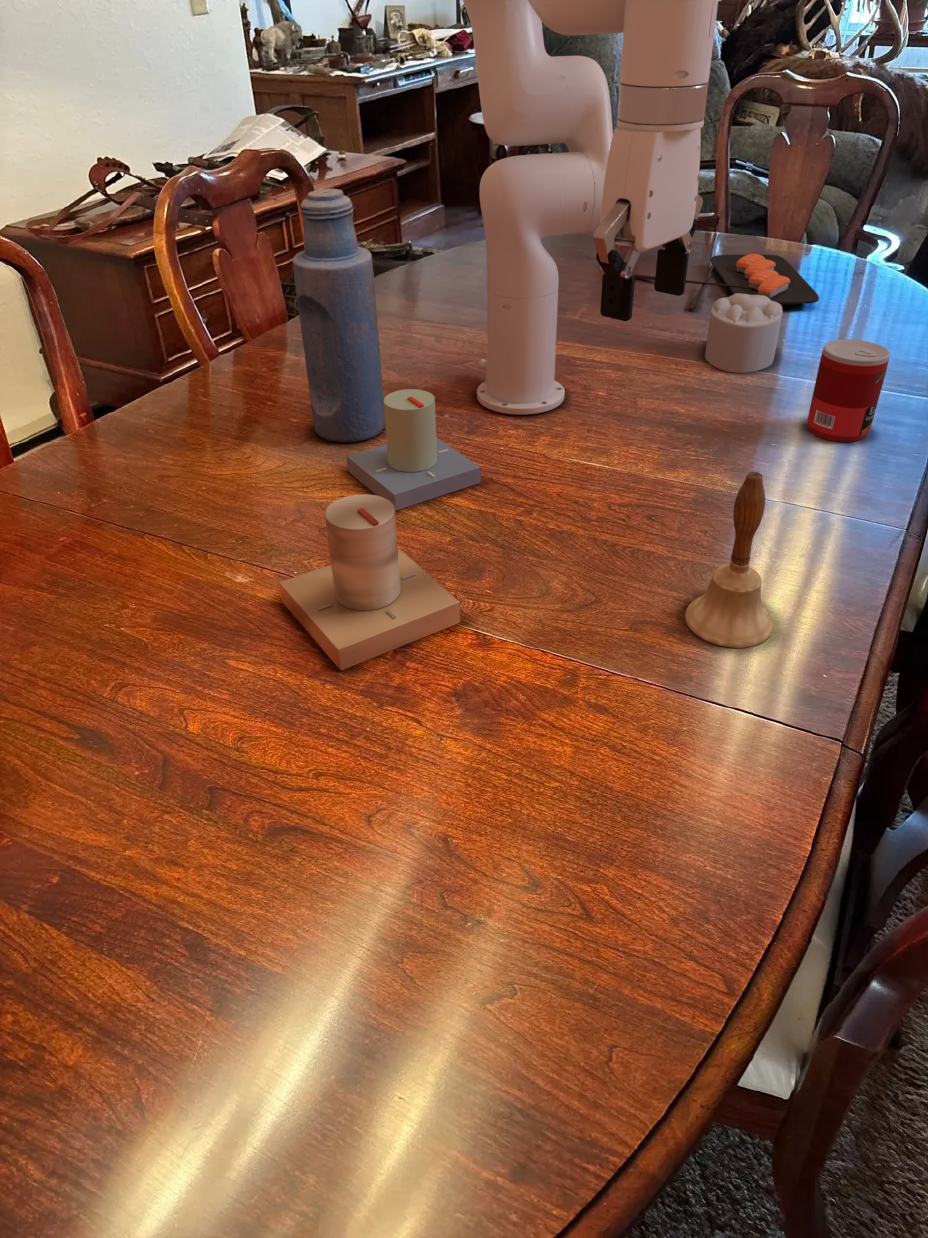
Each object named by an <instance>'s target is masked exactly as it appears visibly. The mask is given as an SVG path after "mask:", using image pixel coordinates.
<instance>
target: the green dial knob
mask: <svg viewBox="0 0 928 1238" xmlns="http://www.w3.org/2000/svg"><path fill="white" fill-rule="evenodd" d="M435 399H436V398H435V396H434V394H433V393H431V392H429V391H427V390H423V389H416V388H412V389H411V388H407V389H405V388H404V389H398V390H395V391H392V392H390V393H388V394H387V395H385V397H384V414H385V427H384V429H385V439H386V444H387V455H388V464H389V465H390V466H391V467H392V468H393V469H395V470H398V471H403V472H419V471H423V470H427V469H429V468H431V467H433V466H434V465H435V464H436V462H437V444H436V437H437V423H436V422H437V421H436V420H437V419H436V400H435Z"/></svg>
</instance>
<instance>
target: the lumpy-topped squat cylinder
mask: <svg viewBox="0 0 928 1238" xmlns="http://www.w3.org/2000/svg"><path fill="white" fill-rule="evenodd" d="M782 318H783V307H782V306H781V304H779V303H777V302H774V301H771V300H770V299H769V298H768V297H766V296H763V295H748V294H740V293H737V294H732V295H730V296H727V297H720V298H718V299H717V300H716V301H715V302H714V304H713V305H712V308H711V310H710V318H709V323H708V331H707V338H706V344H705V345H706V346H705V351H704V352H705V353H704V359H705V360H706V362H708V363H709V364H710V365H711V366H713V367H714V368H717V369H719V370H722V371H725V372H729V373H736V374H737V373H738V374H742V373H746V374H747V373H753V372H758V371H761V370H763V369H766V368H768V367H770V366H771V365H772V364H773V363H774V360H775V356H776V350H777V345H778V341H779V334H780V329H781V323H782Z"/></svg>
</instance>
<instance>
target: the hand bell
mask: <svg viewBox="0 0 928 1238" xmlns="http://www.w3.org/2000/svg"><path fill="white" fill-rule="evenodd" d="M763 481H764V480H763V474H762V473H760V472H758V471H749V472H748V473H747V474H746V477H745V479H744V481H743V483H742V485H741V486H740V487H739V490H738V491H737V494H736V496H735V500H734V504H733V513H732V514H733V515H732V517H733V526H734V534H735V535H734V536H735V537H734V543H733V547H732V551H731V555H730V563H725V564H722V565H719V566H718V567H717V568H716V569H714V571H713V573H712V576H711V579H710V581H709V585H708V586H707V588H706V591H704V593H703V595H700V596H699V597H696V598H695V599H693V601H691V603H689V605H688V606H687V607H686V610H685V612H684V620H685V623H686V625H687V627H688V628H689V630H690V631H691V632H692V633H693V634H694V635H696V636H697V637H699V638H700V639H701V640H704V641H706V642H707V643H710V644H713V645H715V646H720V647H724V648H734V649H741V648H750V647H754V646H756V645H757V646H758V645H759V644H762V643H763V642H765V641H766V640H767V639H769V638H770V637H771V636H772V633H773V631H774V622H773V618H772V616H771V614H770V612H769V611H768V610H767V608H766V607H765V606H764V605H763V602H762V577H761V575H760V574H759V572H758V571H757V570H756V569H754V568H752V567H751V566H750V563H751V562H750V561H751V553H752V545H753V540H754V536H755V534H756V532H757V531H758V528H759V527H760V525H761V523H762V519H763V517H764V513H765V509H766V493H765V487H764V482H763Z"/></svg>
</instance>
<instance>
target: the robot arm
mask: <svg viewBox="0 0 928 1238" xmlns="http://www.w3.org/2000/svg"><path fill="white" fill-rule="evenodd" d="M462 2H463V5H464V8H465V10H466V13H467V16H468V19H469V23H470V27H471V32H472V38H473V50H474V57H475V67H476V73H477V74H476V75H477V83H478V92H479V100H480V108H481V109H480V110H481V116H482V121H483V126H484V129H485V132H486V135H487V137H488V139H490V140H491V141H492V142H493V143H495V144H496V145H500V146H506V147H522V146H538V145H551V144H552V145H553V144H565V145H566V147H567V150H568V152H553V153H550V152H546V153H545V152H544V153H533V154H523V155H522V154H520V155H513V156H507V157H505V158H501V159H499V160H498V159H497V160H496V161H494V162H493V163H491V164H490V165H489V166H488V167H487V168H486V169H485V170H484V172H483V174H482V176H481V178H480V183H479V203H480V210H481V211H480V212H481V217H482V224H483V229H484V230H483V231H484V239H485V247H486V248H485V251H486V289H487V299H486V300H487V302H486V303H487V307H486V308H487V355H486V359H485V358H482V359H480V360H479V361H478V364H477V365H478V368H479V369H481V370H483V371H485V381H482V383H481V384H479V385H478V387H477V388H476V399H477V401H478V403H479V404H480V405H482V407H484V408H486V409H487V410H490V411H493V412H496V413H501V414H506V415H517V416H524V415H536V414H537V415H538V414H542V413H545V412H550V411H552V410H554V409H556V408H558V407H559V406H560V405H562V403H563V402H564V400H565V397H566V396H565V394H566V391H565V387H564V385H562V384H561V383H560V382H559V381H557V380H556V379H555V376H556V355H557V354H556V353H557V351H556V350H557V328H558V304H559V278H560V277H559V271H558V267H557V264H556V262H555V260H554V259H553V257H552V255H551V254H550V253H549V252H548V251H547V249H546V248H545V247H544V245H543V244H542V239H544V238H548V237H552V236H562V235H573V234H581V233H589V232H593V236H592V238H593V242H594V247H595V251H596V254H595V257H596V262H597V264H598V265H599V273H600V274H601V275H602V278H601V279H602V280H601V294H600V295H601V296H600V308H599V309H600V311H599V312H600V315H601V316H602V317H604V318H610V319H613V320H618V321H622V322H628V321H630V320H631V319H632V318H633V308H634V296H635V284H636V278H635V277H633V275H632V273H633V271H634V268H635V267H636V263H637V261H638V259H639V257H640V255H641V253H644V252H647V251H651V250H653V249H656V248H658V247H660V246H661V247H662V248H659V249H657V255H656V266H655V275H654V276H655V280H654V286H653V289H654V291H656V292H658V293H663V294H668V295H673V296H676V297H677V296H678V297H680V296H683V295H684V294H685V292H686V284H687V283H686V280H687V275H688V267H689V259H690V258H689V257H690V253H691V251H692V249H693V245H694V242H693V237H694V235H695V233H696V231H697V229H698V225H699V224H698V218H699V216H700V213H701V210H702V207H703V204H704V198H703V197H702V196H701V195H700V194H699V193H698V192H699V181H700V166H701V143H702V142H701V140H702V139H701V138H702V137H701V136H702V134H701V129H702V128H703V127H704V126H705V125H704V123H705V115H706V107H707V97H708V88H709V81H710V73H711V65H712V57H713V48H714V39H715V33H716V32H715V31H716V23H717V15H718V7H719V0H462ZM543 24H544V26H546V27H547V28H548V29H550V30H551V31H553V32H555V33H557V34H560V35H564V36H587V35H606V34H608V35H609V34H622V43H621V44H622V45H621V61H620V75H619V89H618V103H617V119H616V126H617V127H615V128H614V130H613V117H612V116H613V115H612V105H611V104H612V103H611V96H610V89H609V84H608V81H607V77H606V75H605V73H604V70H603V69H602V67H601V65H600V64H599V63H598V62H597V61H596V60H595V59H593V58H590V57H588V56H584V55H558V56H557V55H556V56H551V55H549V54H548V53H547V51H546V47H545V41H544V32H543ZM620 252H624V253H627V254H626V256H625V258H624V259H623V257H622V256H621V254H620Z"/></svg>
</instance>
